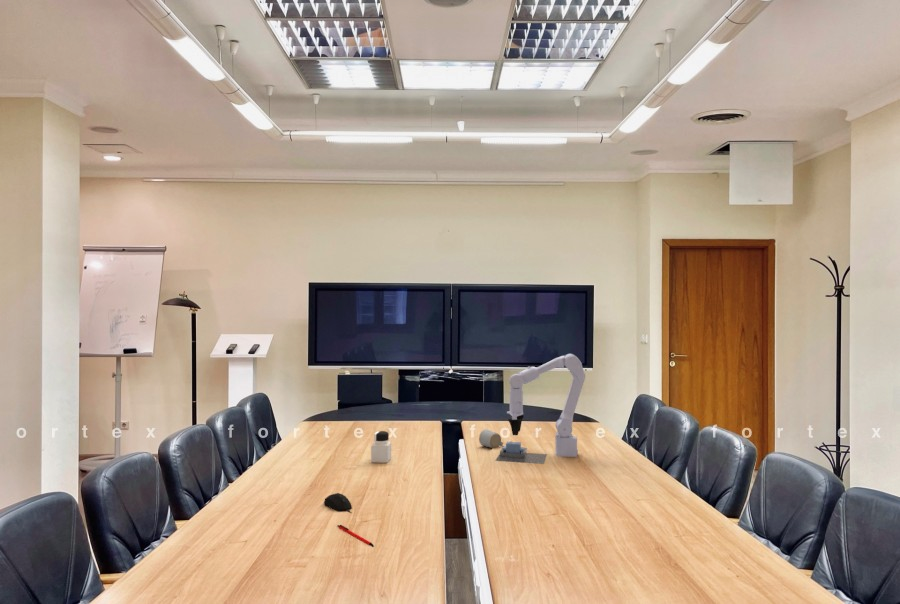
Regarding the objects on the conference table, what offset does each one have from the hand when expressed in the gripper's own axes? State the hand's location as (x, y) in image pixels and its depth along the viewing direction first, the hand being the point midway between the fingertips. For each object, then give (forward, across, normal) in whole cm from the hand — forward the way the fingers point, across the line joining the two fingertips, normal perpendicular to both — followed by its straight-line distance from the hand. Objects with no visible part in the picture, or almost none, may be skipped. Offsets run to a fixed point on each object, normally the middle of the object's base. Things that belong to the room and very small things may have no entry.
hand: (516, 433), depth 247 cm
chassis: (+10, +6, +3) cm, 12 cm away
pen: (+10, +99, -33) cm, 105 cm away
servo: (+9, +3, -1) cm, 9 cm away
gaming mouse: (+10, +78, -47) cm, 92 cm away
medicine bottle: (+10, +22, -54) cm, 59 cm away
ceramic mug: (+10, -13, -13) cm, 20 cm away
